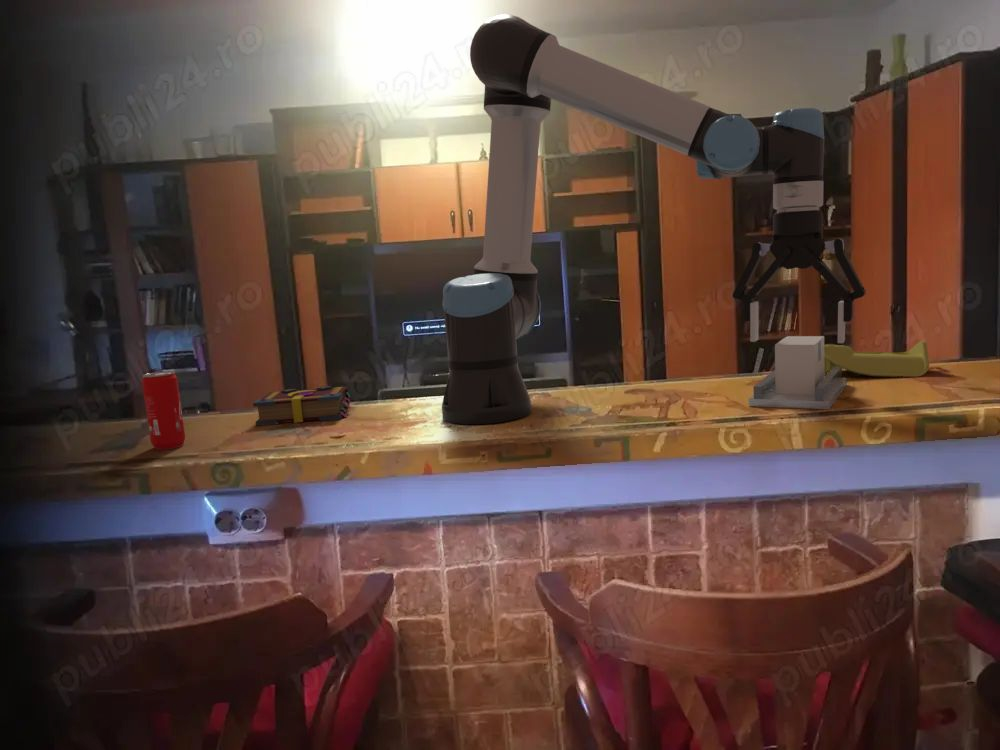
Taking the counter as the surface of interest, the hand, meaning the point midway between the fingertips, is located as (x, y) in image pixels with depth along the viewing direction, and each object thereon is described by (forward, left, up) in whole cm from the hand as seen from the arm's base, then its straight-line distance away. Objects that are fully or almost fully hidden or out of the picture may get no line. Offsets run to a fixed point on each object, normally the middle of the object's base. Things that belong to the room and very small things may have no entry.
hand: (796, 341), depth 130 cm
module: (+1, 0, -8) cm, 8 cm away
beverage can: (-87, -57, -9) cm, 104 cm away
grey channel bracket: (0, 0, -9) cm, 9 cm away
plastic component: (+8, +23, -9) cm, 26 cm away
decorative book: (-79, -33, -9) cm, 86 cm away
